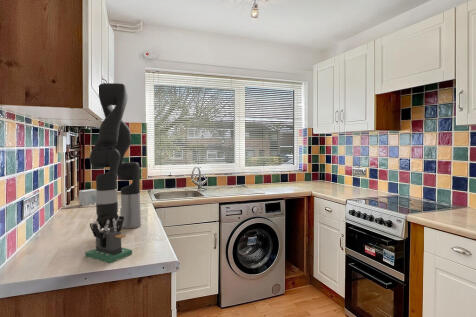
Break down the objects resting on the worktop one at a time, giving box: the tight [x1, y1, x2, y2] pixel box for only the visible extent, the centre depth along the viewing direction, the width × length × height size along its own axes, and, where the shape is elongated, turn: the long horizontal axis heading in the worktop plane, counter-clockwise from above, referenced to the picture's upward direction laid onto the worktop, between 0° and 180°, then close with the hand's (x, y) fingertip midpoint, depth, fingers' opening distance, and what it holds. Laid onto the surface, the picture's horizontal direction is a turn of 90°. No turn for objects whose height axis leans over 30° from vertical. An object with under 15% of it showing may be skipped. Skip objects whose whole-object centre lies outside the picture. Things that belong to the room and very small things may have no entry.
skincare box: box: [78, 188, 96, 206], centre depth 209 cm, size 10×6×10 cm, turn 141°
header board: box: [84, 246, 133, 264], centre depth 112 cm, size 14×10×6 cm
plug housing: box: [95, 229, 126, 251], centre depth 111 cm, size 13×4×6 cm, turn 61°
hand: (108, 245), depth 112 cm, fingers closed on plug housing, 3 cm apart
